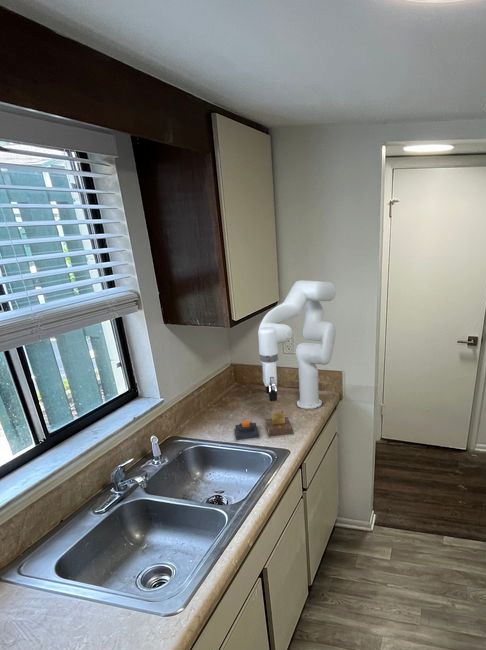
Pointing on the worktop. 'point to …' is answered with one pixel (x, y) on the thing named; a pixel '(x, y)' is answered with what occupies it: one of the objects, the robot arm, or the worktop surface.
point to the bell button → (245, 423)
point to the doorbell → (246, 431)
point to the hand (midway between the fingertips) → (271, 396)
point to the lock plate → (278, 428)
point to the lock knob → (278, 418)
